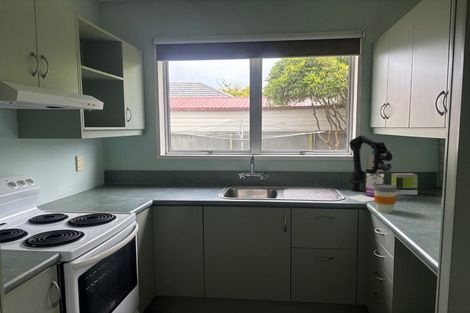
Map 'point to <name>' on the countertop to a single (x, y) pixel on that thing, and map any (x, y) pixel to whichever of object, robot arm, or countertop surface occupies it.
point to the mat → (361, 198)
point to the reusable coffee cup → (385, 197)
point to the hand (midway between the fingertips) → (377, 181)
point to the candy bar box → (373, 182)
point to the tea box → (405, 183)
